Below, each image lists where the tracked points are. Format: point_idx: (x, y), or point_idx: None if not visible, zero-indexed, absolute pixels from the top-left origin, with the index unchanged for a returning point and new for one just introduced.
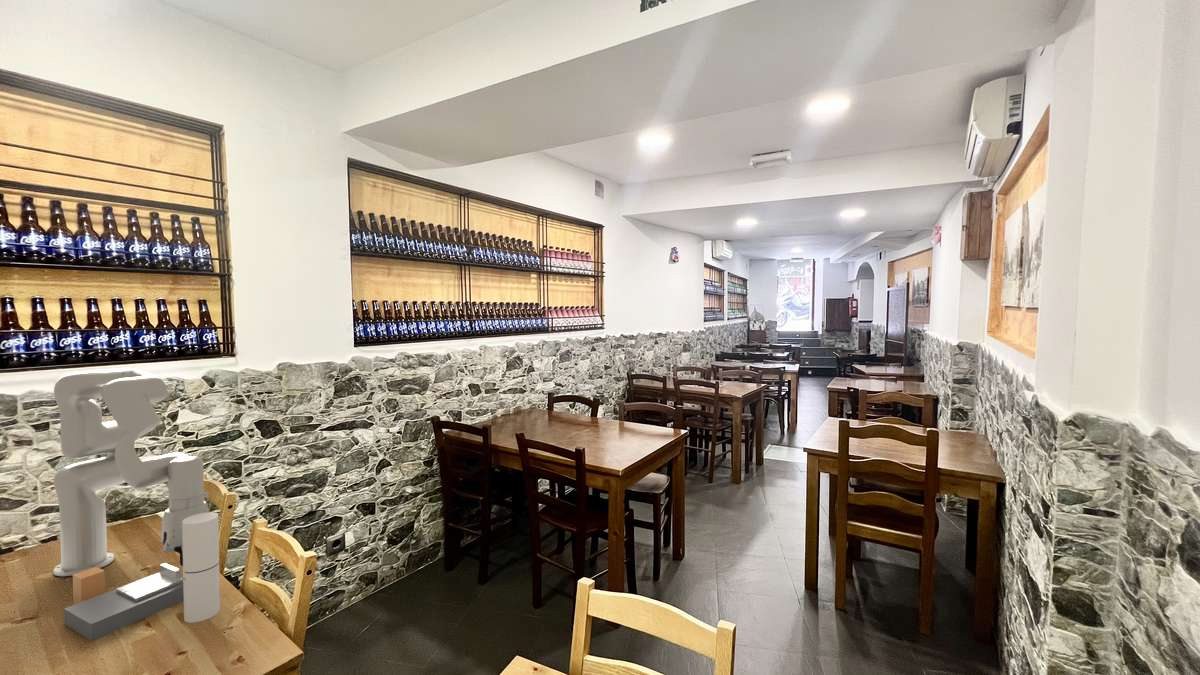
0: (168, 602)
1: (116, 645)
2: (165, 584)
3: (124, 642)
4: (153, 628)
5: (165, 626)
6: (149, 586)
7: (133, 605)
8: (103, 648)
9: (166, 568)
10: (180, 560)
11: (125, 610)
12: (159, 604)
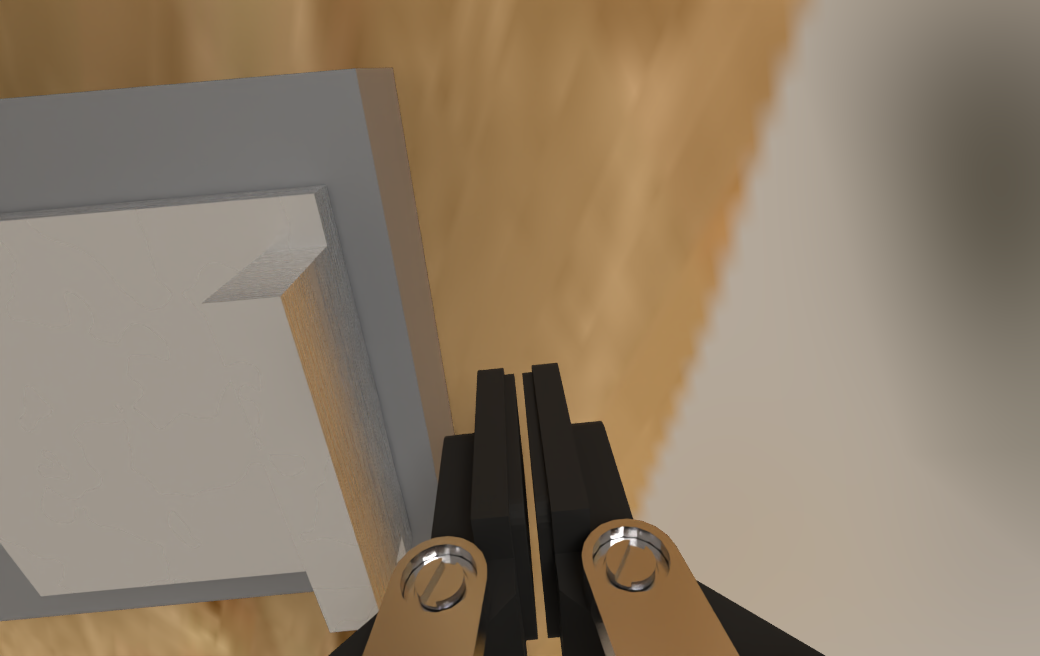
0: None
1: (66, 643)
2: (271, 544)
3: (99, 645)
4: (223, 628)
5: (273, 648)
6: (143, 482)
7: (53, 600)
8: (9, 629)
9: (273, 471)
10: (442, 484)
11: (7, 617)
12: None
